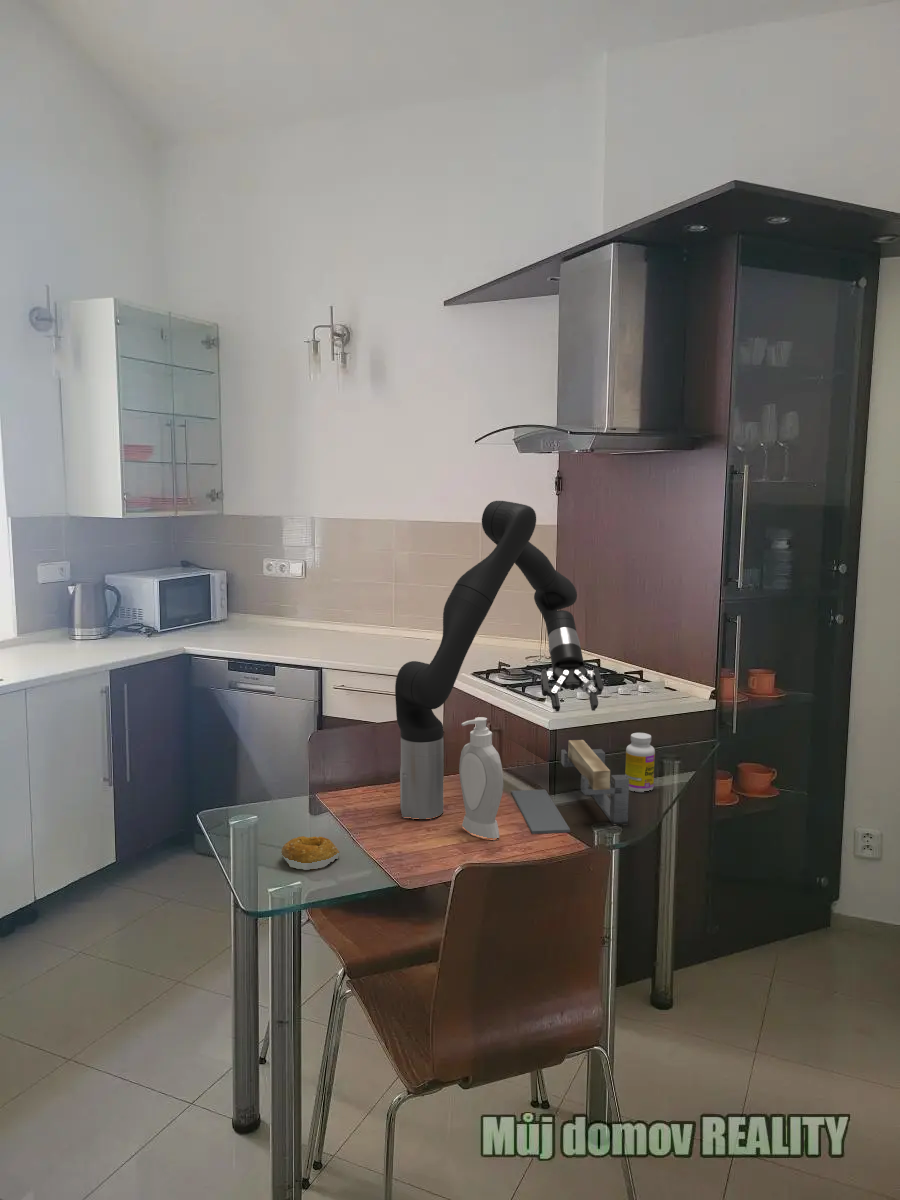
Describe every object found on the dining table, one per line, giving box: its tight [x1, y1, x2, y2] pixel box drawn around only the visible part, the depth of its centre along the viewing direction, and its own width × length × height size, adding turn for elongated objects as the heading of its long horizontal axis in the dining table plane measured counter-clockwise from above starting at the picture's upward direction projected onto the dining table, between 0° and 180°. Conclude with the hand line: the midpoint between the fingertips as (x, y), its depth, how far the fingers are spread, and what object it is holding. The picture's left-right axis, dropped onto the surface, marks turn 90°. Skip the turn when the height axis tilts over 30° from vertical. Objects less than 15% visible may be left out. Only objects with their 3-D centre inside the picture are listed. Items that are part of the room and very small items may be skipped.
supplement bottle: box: [624, 732, 656, 793], centre depth 214 cm, size 7×7×13 cm
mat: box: [510, 788, 571, 835], centre depth 201 cm, size 8×24×1 cm, turn 6°
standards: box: [560, 748, 630, 825], centre depth 202 cm, size 10×21×10 cm, turn 6°
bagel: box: [280, 835, 340, 863], centre depth 175 cm, size 10×11×5 cm
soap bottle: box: [458, 716, 504, 839], centre depth 186 cm, size 13×8×24 cm, turn 41°
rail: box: [567, 739, 611, 790], centre depth 201 cm, size 4×22×4 cm, turn 6°
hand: (576, 709), depth 211 cm, fingers open, 8 cm apart
